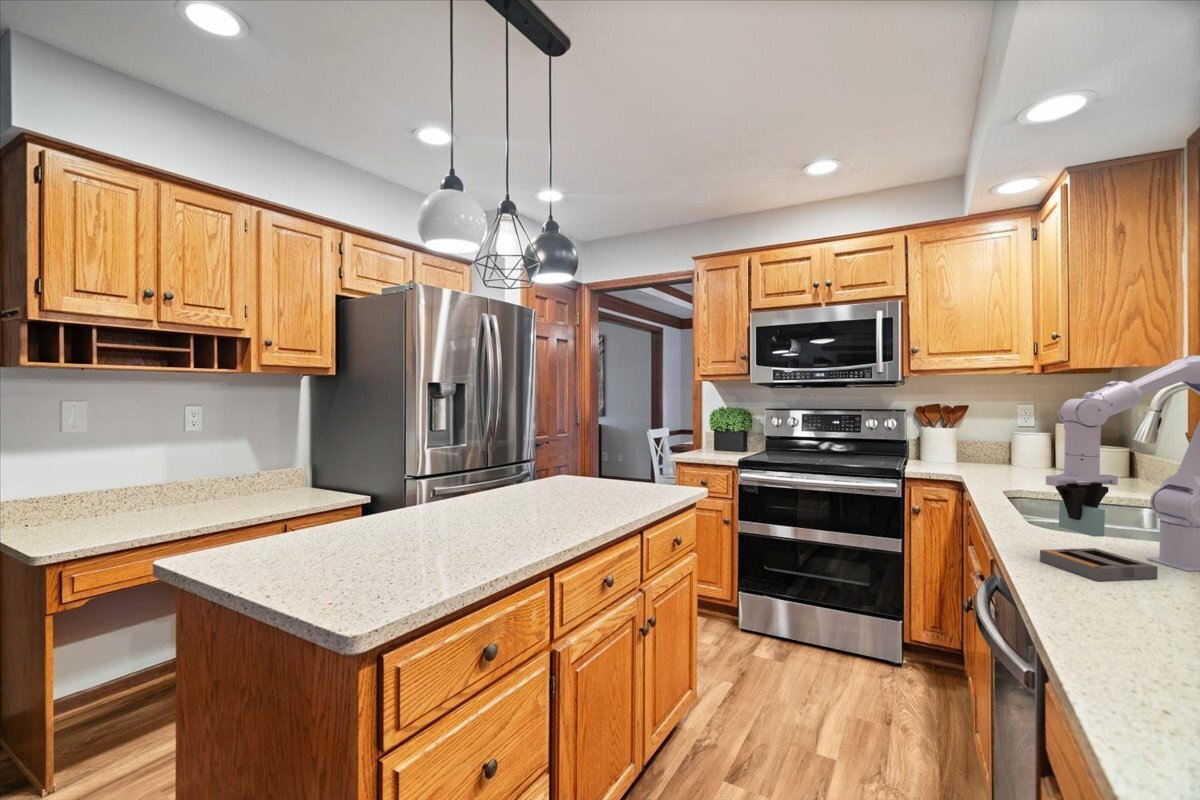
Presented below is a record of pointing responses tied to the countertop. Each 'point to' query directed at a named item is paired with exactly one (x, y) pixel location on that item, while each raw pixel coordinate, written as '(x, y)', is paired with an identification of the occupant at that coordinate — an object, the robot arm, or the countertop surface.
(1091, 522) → the panel
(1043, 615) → the countertop surface
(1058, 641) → the countertop surface
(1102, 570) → the panel rack
